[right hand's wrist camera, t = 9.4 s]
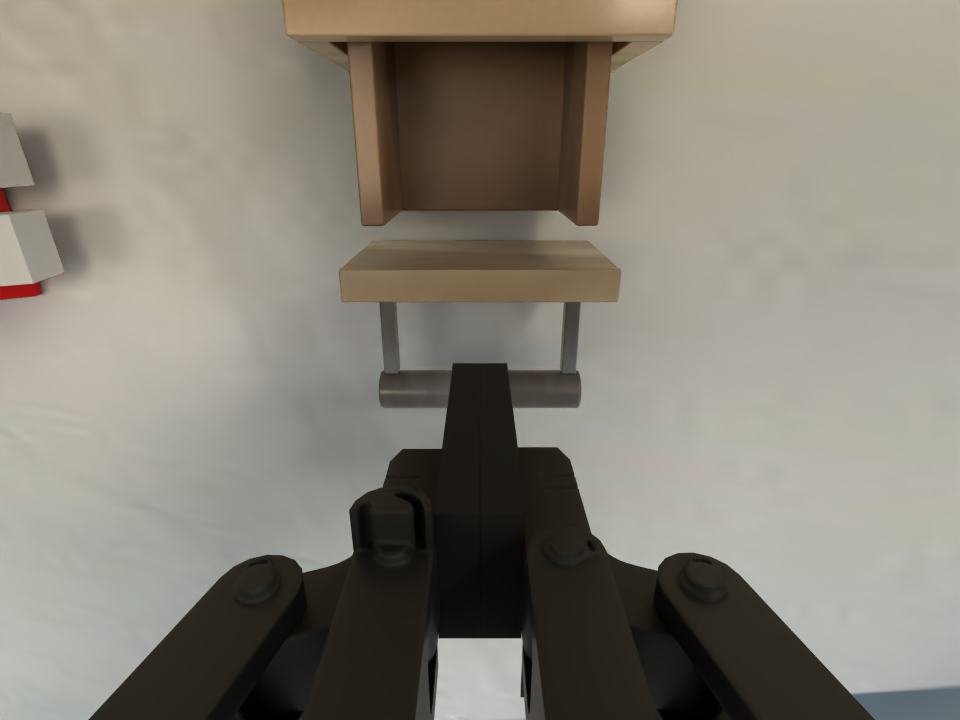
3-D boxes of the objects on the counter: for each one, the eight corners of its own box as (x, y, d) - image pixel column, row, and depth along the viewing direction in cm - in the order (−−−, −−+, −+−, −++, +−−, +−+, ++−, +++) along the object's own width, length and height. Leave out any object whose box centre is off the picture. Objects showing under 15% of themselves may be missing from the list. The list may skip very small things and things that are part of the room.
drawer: (578, 369, 27) (606, 431, 21) (381, 369, 27) (354, 431, 21) (624, -261, 19) (692, -451, 13) (334, -260, 19) (266, -451, 13)
